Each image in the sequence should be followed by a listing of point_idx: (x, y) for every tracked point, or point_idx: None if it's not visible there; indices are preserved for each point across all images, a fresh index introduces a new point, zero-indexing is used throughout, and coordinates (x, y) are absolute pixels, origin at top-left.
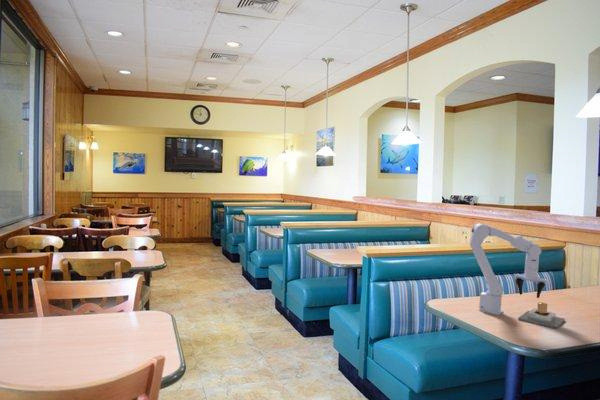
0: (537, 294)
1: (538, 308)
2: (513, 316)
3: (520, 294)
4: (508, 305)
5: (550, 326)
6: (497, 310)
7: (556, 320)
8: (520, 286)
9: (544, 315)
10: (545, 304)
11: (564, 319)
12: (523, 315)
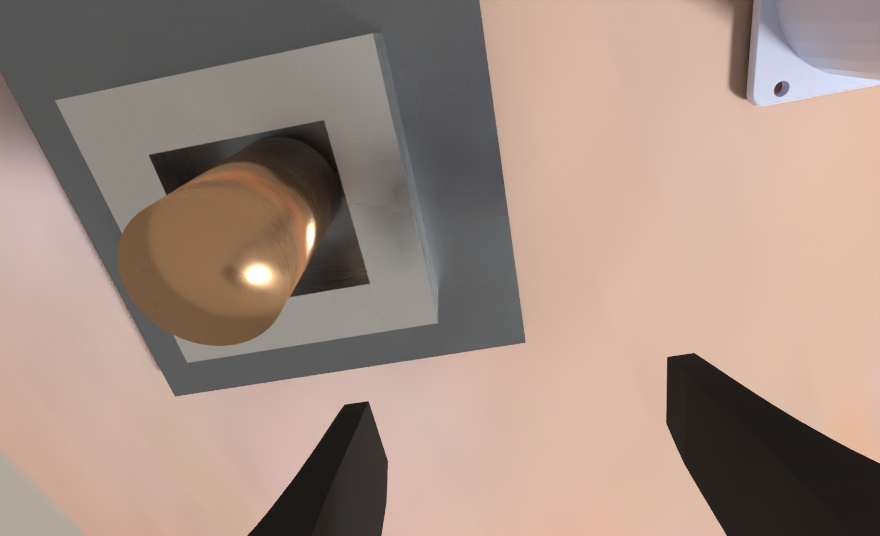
0: (337, 445)
1: (261, 181)
2: (581, 36)
3: (678, 356)
4: (762, 397)
5: None
6: None
7: None
8: (805, 480)
9: (171, 130)
10: (146, 271)
11: (168, 378)
12: (472, 98)
